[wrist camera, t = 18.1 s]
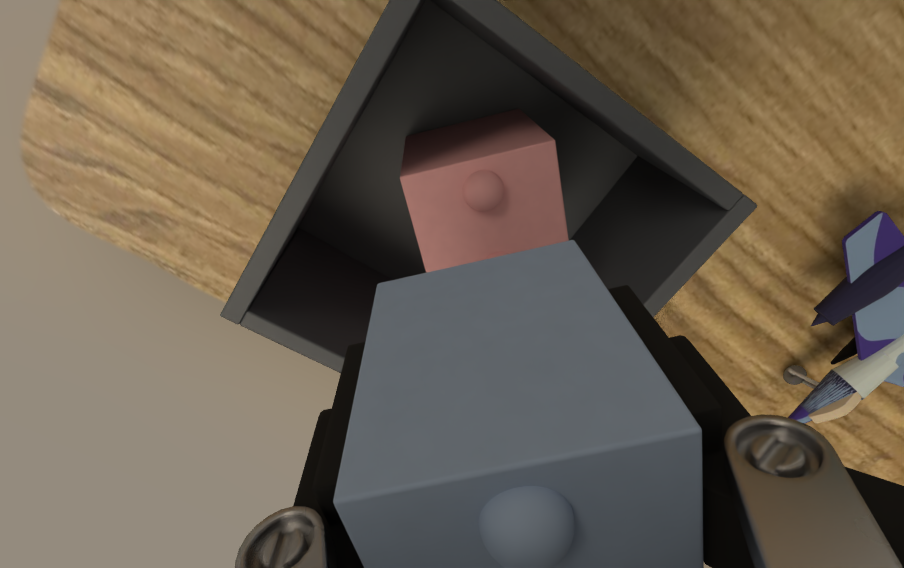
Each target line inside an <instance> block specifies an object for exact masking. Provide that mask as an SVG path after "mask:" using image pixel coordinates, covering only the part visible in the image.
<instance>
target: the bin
mask: <svg viewBox="0 0 904 568" xmlns="http://www.w3.org/2000/svg"><path fill="white" fill-rule="evenodd" d="M515 109H520V110H521V111H522V112H524V113H525V114H526V115H527V116H528V117H529V118H530V119H531V120H533V121H534V122H535V123H536V124H537V125H538V126H539V127H541V128H542V129H543V130H544V131H545V132H546V133H547V134H549V135H550V136H551V137H552V138H553V139H554V140H555V142H556V150H557V157H558V165H559V172H560V179H561V187H562V194H563V202H564V209H565V217H566V224H567V232H568V239H569V241H570V240H574V241H575V242H576V244H577V245H578V247H579V248H580V250H581V251H582V252H583V254H584V255H585V257H586V258H587V260H588V261H589V263H590V264H591V266H592V267H593V269H594V270H595V272H596V273H597V275H598V276H599V278H600V279H601V281H602V282H603V284H604V285H605V287H606V288H607V289H610V288H614V287H619V286H624V285H628V286H629V287H630V288H631V289H632V291H633V292H634V293H635V295H636V296H637V297H638V298H639V300H640V301H641V302H642V304H643V305H644V306H645V308H646V309H647V310H648V312H649V313H650V314H651V315H652V317H654V316H655V315H656V314H657V313H658V312H659V311H660V310H661V309H662V307H663V306H664V305H665V304H666V303H667V302H668V301H669V300H670V299H671V298H672V297H673V296H674V295H675V294H676V293H677V291H678V290H679V289H680V288H681V287H682V286H683V285H684V284H685V283H686V282H687V281H688V280H689V279H690V278H691V277H692V276H693V274H694V273H695V272H696V271H697V270H698V269H699V268H700V267H701V266H702V265H703V264H704V263H705V262H706V261H707V260H708V258H709V257H710V256H711V255H712V254H713V253H714V252H715V251H716V250H717V249H718V248H719V247H720V246H721V245H722V244H723V242H724V241H725V240H726V239H727V238H728V237H729V236H730V235H731V234H732V233H733V232H734V231H735V230H736V229H737V228H738V227H739V225H740V224H741V223H742V222H743V221H744V220H745V219H746V218H747V217H748V216H749V215H750V214H751V213H752V212H753V211H754V209H755V208H756V207H757V205H756V203H755V202H753V201H752V200H751V199H749V198H748V197H747V196H746V195H744V194H742V192H740V191H739V190H738V189H737V188H735V187H734V186H733V185H732V184H730V183H729V182H728V181H726V180H725V179H724V178H723V177H721V176H720V175H719V174H718V173H716V172H715V171H714V170H712V169H711V168H710V167H709V166H707V165H706V164H705V163H704V162H702V161H701V160H700V159H698V158H697V157H696V156H695V155H693V154H692V153H691V152H689V151H688V150H687V149H686V148H684V147H683V146H682V145H681V144H679V143H678V142H677V141H675V140H674V139H673V138H672V137H670V136H669V135H668V134H667V133H665V132H664V131H663V130H661V129H660V128H659V127H658V126H656V125H655V124H654V123H653V122H651V121H650V120H649V119H647V118H646V117H645V116H644V115H642V114H641V113H640V112H638V111H637V110H636V109H635V108H633V107H632V106H631V105H630V104H628V103H627V102H626V101H624V100H623V99H622V98H621V97H619V96H618V95H617V94H616V93H614V92H613V91H612V90H610V89H609V88H608V87H607V86H605V85H604V84H603V83H602V82H600V81H599V80H598V79H596V78H595V77H594V76H593V75H591V74H590V73H589V72H588V71H586V70H585V69H584V68H582V67H581V66H580V65H579V64H577V63H576V62H575V61H573V60H572V59H571V58H570V57H568V56H567V55H566V54H565V53H563V52H562V51H561V50H559V49H558V48H557V47H556V46H554V45H553V44H552V43H551V42H549V41H548V40H547V39H545V38H544V37H543V36H542V35H540V34H539V33H538V32H537V31H535V30H534V29H533V28H531V27H530V26H529V25H528V24H526V23H525V22H524V21H522V20H521V19H520V18H519V17H517V16H516V15H515V14H514V13H512V12H511V11H510V10H508V9H507V8H506V7H505V6H503V5H502V4H501V3H500V2H498V1H497V0H389V2H388V4H387V6H386V8H385V9H384V11H383V13H382V15H381V17H380V19H379V21H378V22H377V24H376V26H375V28H374V30H373V32H372V34H371V35H370V37H369V39H368V41H367V43H366V45H365V47H364V48H363V50H362V52H361V54H360V56H359V58H358V60H357V61H356V63H355V65H354V67H353V69H352V71H351V73H350V74H349V76H348V78H347V80H346V82H345V84H344V86H343V87H342V89H341V91H340V93H339V95H338V97H337V99H336V100H335V102H334V104H333V106H332V108H331V110H330V112H329V113H328V115H327V117H326V119H325V121H324V123H323V125H322V126H321V128H320V130H319V132H318V134H317V136H316V138H315V139H314V141H313V143H312V145H311V147H310V149H309V151H308V153H307V154H306V156H305V158H304V160H303V162H302V164H301V166H300V167H299V169H298V171H297V173H296V175H295V177H294V179H293V180H292V182H291V184H290V186H289V188H288V190H287V192H286V193H285V195H284V197H283V199H282V201H281V203H280V205H279V206H278V208H277V210H276V212H275V214H274V216H273V218H272V219H271V221H270V223H269V225H268V227H267V229H266V231H265V232H264V234H263V236H262V238H261V240H260V242H259V244H258V245H257V247H256V249H255V251H254V253H253V255H252V257H251V258H250V260H249V262H248V264H247V266H246V268H245V270H244V271H243V273H242V275H241V277H240V279H239V281H238V283H237V284H236V286H235V288H234V290H233V292H232V294H231V296H230V297H229V299H228V301H227V303H226V305H225V307H224V309H223V311H222V312H221V314H220V316H221V317H224V318H225V319H227V320H229V321H232V322H234V323H236V324H240V325H241V326H243V327H245V328H247V329H249V330H251V331H253V332H255V333H257V334H260V335H262V336H264V337H266V338H268V339H271V340H272V341H274V342H276V343H278V344H281V345H283V346H285V347H287V348H289V349H291V350H293V351H296V352H297V353H300V354H302V355H304V356H306V357H308V358H310V359H312V360H314V361H316V362H318V363H321V364H323V365H325V366H327V367H329V368H331V369H333V370H335V371H337V372H339V373H341V371H342V367H343V363H344V359H345V355H346V351H347V348H348V346H349V345H352V344H357V343H361V342H366V337H367V332H368V327H369V322H370V318H371V313H372V308H373V303H374V298H375V293H376V288H377V284H379V283H382V282H387V281H391V280H396V279H400V278H405V277H409V276H414V275H418V274H423V273H426V270H425V267H424V263H423V259H422V256H421V252H420V249H419V245H418V242H417V238H416V234H415V231H414V227H413V224H412V220H411V217H410V213H409V209H408V206H407V202H406V199H405V195H404V192H403V188H402V184H401V181H400V174H401V167H402V160H403V153H404V146H405V139H406V136H409V135H413V134H417V133H421V132H425V131H429V130H433V129H437V128H441V127H446V126H450V125H454V124H458V123H462V122H466V121H470V120H474V119H478V118H482V117H486V116H490V115H494V114H499V113H503V112H507V111H511V110H515Z"/></svg>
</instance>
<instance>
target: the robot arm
mask: <svg viewBox="0 0 904 568" xmlns="http://www.w3.org/2000/svg"><path fill="white" fill-rule="evenodd" d="M607 290H608V291H609V293H610V294H611V295H612V297H613V298H614V300H615V301H616V303H617V304H618V306H619V307H620V309H621V310H622V312H623V313H624V315H625V316H626V318H627V319H628V321H629V322H630V324H631V325H632V327H633V328H634V330H635V331H636V333H637V334H638V336H639V337H640V339H641V340H642V341H643V343H644V344H645V346H646V347H647V349H648V350H649V352H650V353H651V355H652V356H653V358H654V359H655V361H656V362H657V364H658V365H659V367H660V368H661V370H662V371H663V373H664V374H665V376H666V377H667V379H668V380H669V382H670V383H671V384H672V386H673V387H674V389H675V390H676V392H677V393H678V395H679V396H680V398H681V399H682V401H683V402H684V404H685V405H686V407H687V408H688V410H689V411H690V413H691V414H692V416H693V417H694V419H695V420H696V422H697V423H698V425H699V426H700V428H701V429H702V483H703V561H704V563H705V564H706V565H708V566H710V567H712V568H904V486H902V485H899V484H896V483H893V482H890V481H887V480H884V479H881V478H878V477H875V476H871V475H868V474H865V473H862V472H859V471H856V470H853V469H850V468H847V467H844V465H843V464H842V462H841V460H840V458H839V457H838V455H837V453H836V451H835V450H834V448H833V447H832V445H831V444H830V443H829V442H828V440H827V439H826V438H825V437H824V436H823V435H822V434H820V433H819V432H818V431H816V430H815V429H813V428H812V427H810V426H808V425H806V424H804V423H801V422H799V421H797V420H794V419H790V418H786V417H782V416H777V415H756V416H751V415H750V414H749V413H748V412H747V410H746V409H745V408H744V407H743V405H742V404H741V403H740V402H739V401H738V399H737V398H736V397H735V396H734V395H733V393H732V392H731V391H730V390H729V388H728V387H727V386H726V385H725V384H724V382H723V381H722V380H721V379H720V378H719V376H718V375H717V374H716V373H715V371H714V370H713V369H712V368H711V367H710V365H709V364H708V363H707V362H706V361H705V359H704V358H703V357H702V356H701V354H700V353H699V352H698V351H697V350H696V348H695V347H694V346H693V345H692V344H691V342H690V341H689V340H688V339H687V338H686V337H685V336H681V335H680V336H675V337H671V338H668V336H667V335H666V334H665V332H664V331H663V330H662V328H661V327H660V326H659V325H658V323H657V322H656V321H655V319H654V318H653V317H652V315H651V314H650V313H649V312H648V310H647V309H646V308H645V306H644V305H643V304H642V302H641V301H640V300H639V298H638V297H637V296H636V295H635V293H634V292H633V291H632V289H631V288H630V287H629V286H628V285H624V286H619V287H614V288H610V289H607ZM364 347H365V342H361V343H357V344H352V345H349V346H348V348H347V351H346V355H345V359H344V363H343V367H342V371H341V375H340V379H339V383H338V387H337V391H336V395H335V399H334V403H333V406H332V409H327V410H323V411H322V412H321V413H320V415H319V417H318V421H317V424H316V428H315V431H314V435H313V438H312V442H311V446H310V449H309V453H308V456H307V460H306V463H305V467H304V470H303V474H302V477H301V481H300V484H299V488H298V492H297V495H296V498H295V502H294V506H293V507H289V508H285V509H281V510H279V511H277V512H275V513H273V514H272V515H270V516H268V517H267V518H265V519H264V520H263V521H262V522H260V523H259V524H257V525H256V526H255V527H254V529H253V530H252V531H251V532H250V533H249V534H248V535H247V536H246V538H245V540H244V542H243V543H242V545H241V547H240V548H239V551H238V555H237V558H236V562H235V568H364V566H363V564H362V562H361V560H360V558H359V556H358V554H357V552H356V549H355V547H354V545H353V543H352V541H351V539H350V537H349V535H348V533H347V531H346V528H345V526H344V524H343V522H342V520H341V518H340V516H339V514H338V512H337V510H336V508H335V505H334V503H333V499H334V494H335V489H336V484H337V479H338V474H339V469H340V465H341V460H342V455H343V450H344V445H345V440H346V435H347V430H348V425H349V420H350V416H351V411H352V406H353V401H354V396H355V391H356V386H357V381H358V376H359V371H360V367H361V362H362V357H363V352H364Z"/></svg>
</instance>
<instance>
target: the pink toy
mask: <svg viewBox="0 0 904 568" xmlns="http://www.w3.org/2000/svg"><path fill="white" fill-rule="evenodd" d="M400 181H401V184H402V188H403V192H404V195H405V199H406V202H407V206H408V209H409V213H410V217H411V220H412V224H413V227H414V231H415V234H416V238H417V242H418V245H419V249H420V252H421V256H422V259H423V263H424V267H425V270H426V273H427V272H431V271H436V270H440V269H445V268H449V267H454V266H458V265H463V264H467V263H472V262H476V261H480V260H485V259H489V258H494V257H498V256H503V255H507V254H512V253H516V252H521V251H525V250H529V249H534V248H538V247H543V246H547V245H552V244H556V243H561V242H565V241H569V239H568V232H567V224H566V217H565V209H564V202H563V194H562V187H561V179H560V172H559V165H558V157H557V150H556V142H555V140H554V139H553V138H552V137H551V136H550V135H549V134H547V133H546V132H545V131H544V130H543V129H542V128H541V127H539V126H538V125H537V124H536V123H535V122H534V121H533V120H531V119H530V118H529V117H528V116H527V115H526V114H525V113H524V112H522V111H521V110H520V109H515V110H511V111H507V112H503V113H499V114H494V115H490V116H486V117H482V118H478V119H474V120H470V121H466V122H462V123H458V124H454V125H450V126H446V127H441V128H437V129H433V130H429V131H425V132H421V133H417V134H413V135H409V136H406V139H405V146H404V153H403V160H402V167H401V174H400Z"/></svg>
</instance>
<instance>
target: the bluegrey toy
mask: <svg viewBox="0 0 904 568" xmlns="http://www.w3.org/2000/svg"><path fill="white" fill-rule="evenodd" d="M333 503H334V505H335V508H336V510H337V512H338V514H339V516H340V518H341V520H342V522H343V524H344V526H345V528H346V531H347V533H348V535H349V537H350V539H351V541H352V543H353V545H354V547H355V549H356V552H357V554H358V556H359V558H360V560H361V562H362V564H363V566H364V568H703V483H702V429H701V428H700V426H699V425H698V423H697V422H696V420H695V419H694V417H693V416H692V414H691V413H690V411H689V410H688V408H687V407H686V405H685V404H684V402H683V401H682V399H681V398H680V396H679V395H678V393H677V392H676V390H675V389H674V387H673V386H672V384H671V383H670V382H669V380H668V379H667V377H666V376H665V374H664V373H663V371H662V370H661V368H660V367H659V365H658V364H657V362H656V361H655V359H654V358H653V356H652V355H651V353H650V352H649V350H648V349H647V347H646V346H645V344H644V343H643V341H642V340H641V339H640V337H639V336H638V334H637V333H636V331H635V330H634V328H633V327H632V325H631V324H630V322H629V321H628V319H627V318H626V316H625V315H624V313H623V312H622V310H621V309H620V307H619V306H618V304H617V303H616V301H615V300H614V298H613V297H612V295H611V294H610V293H609V291H608V290H607V288H606V287H605V285H604V284H603V282H602V281H601V279H600V278H599V276H598V275H597V273H596V272H595V270H594V269H593V267H592V266H591V264H590V263H589V261H588V260H587V258H586V257H585V255H584V254H583V252H582V251H581V250H580V248H579V247H578V245H577V244H576V242H575V241H574V240H570V241H565V242H561V243H556V244H552V245H547V246H543V247H538V248H534V249H529V250H525V251H521V252H516V253H512V254H507V255H503V256H498V257H494V258H489V259H485V260H480V261H476V262H472V263H467V264H463V265H458V266H454V267H449V268H445V269H440V270H436V271H431V272H427V273H423V274H418V275H414V276H409V277H405V278H400V279H396V280H391V281H387V282H382V283H379V284H377V288H376V293H375V298H374V303H373V308H372V313H371V318H370V322H369V327H368V332H367V337H366V342H365V347H364V352H363V357H362V362H361V367H360V371H359V376H358V381H357V386H356V391H355V396H354V401H353V406H352V411H351V416H350V420H349V425H348V430H347V435H346V440H345V445H344V450H343V455H342V460H341V465H340V469H339V474H338V479H337V484H336V489H335V494H334V499H333Z"/></svg>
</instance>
